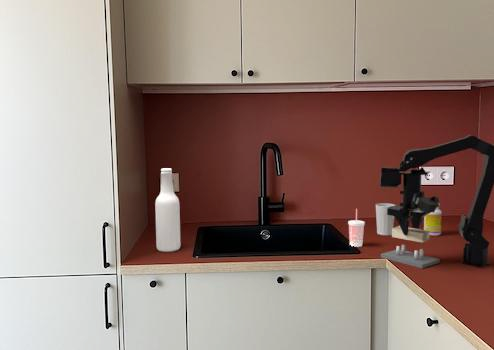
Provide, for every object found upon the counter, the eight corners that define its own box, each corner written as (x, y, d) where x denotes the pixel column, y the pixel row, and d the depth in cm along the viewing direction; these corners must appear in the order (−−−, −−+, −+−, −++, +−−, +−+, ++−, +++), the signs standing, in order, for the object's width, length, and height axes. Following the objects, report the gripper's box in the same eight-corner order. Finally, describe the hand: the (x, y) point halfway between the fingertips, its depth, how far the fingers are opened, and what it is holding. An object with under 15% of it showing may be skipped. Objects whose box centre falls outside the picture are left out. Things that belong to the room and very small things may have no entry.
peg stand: (439, 262, 162) (439, 250, 161) (421, 268, 156) (422, 255, 155) (398, 252, 174) (398, 240, 174) (380, 257, 168) (381, 245, 168)
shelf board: (399, 234, 170) (399, 225, 169) (429, 239, 162) (429, 230, 161) (391, 236, 166) (391, 228, 166) (422, 242, 158) (422, 233, 158)
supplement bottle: (442, 236, 197) (443, 205, 196) (425, 235, 198) (426, 204, 197) (439, 232, 204) (440, 202, 202) (422, 231, 205) (423, 201, 203)
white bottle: (154, 252, 177) (151, 170, 174) (159, 245, 186) (156, 167, 182) (178, 252, 177) (176, 169, 174) (182, 245, 186) (180, 167, 182)
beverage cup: (367, 245, 184) (368, 209, 182) (355, 248, 180) (356, 210, 179) (356, 242, 189) (356, 206, 187) (344, 244, 186) (344, 208, 184)
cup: (371, 232, 205) (371, 204, 204) (386, 230, 208) (387, 202, 207) (382, 236, 198) (383, 207, 196) (398, 234, 201) (399, 205, 199)
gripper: (416, 193, 150) (415, 243, 152) (449, 187, 161) (448, 234, 163) (386, 189, 159) (385, 236, 161) (420, 184, 170) (418, 228, 172)
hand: (410, 233), depth 164 cm, fingers closed on shelf board, 5 cm apart
